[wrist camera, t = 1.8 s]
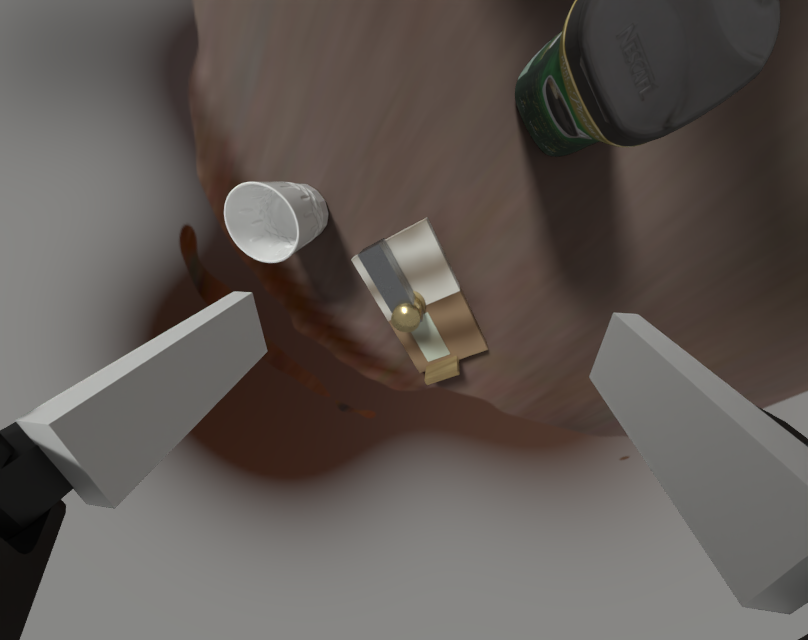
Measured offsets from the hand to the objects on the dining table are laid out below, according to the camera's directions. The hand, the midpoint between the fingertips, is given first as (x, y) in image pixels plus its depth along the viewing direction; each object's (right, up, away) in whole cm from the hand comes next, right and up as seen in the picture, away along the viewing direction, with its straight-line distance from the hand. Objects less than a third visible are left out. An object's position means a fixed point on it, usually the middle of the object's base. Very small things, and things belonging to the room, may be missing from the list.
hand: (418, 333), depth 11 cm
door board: (+2, +3, +31) cm, 31 cm away
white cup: (-14, +15, +27) cm, 34 cm away
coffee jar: (+15, +23, +19) cm, 33 cm away
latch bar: (-2, +6, +27) cm, 28 cm away
